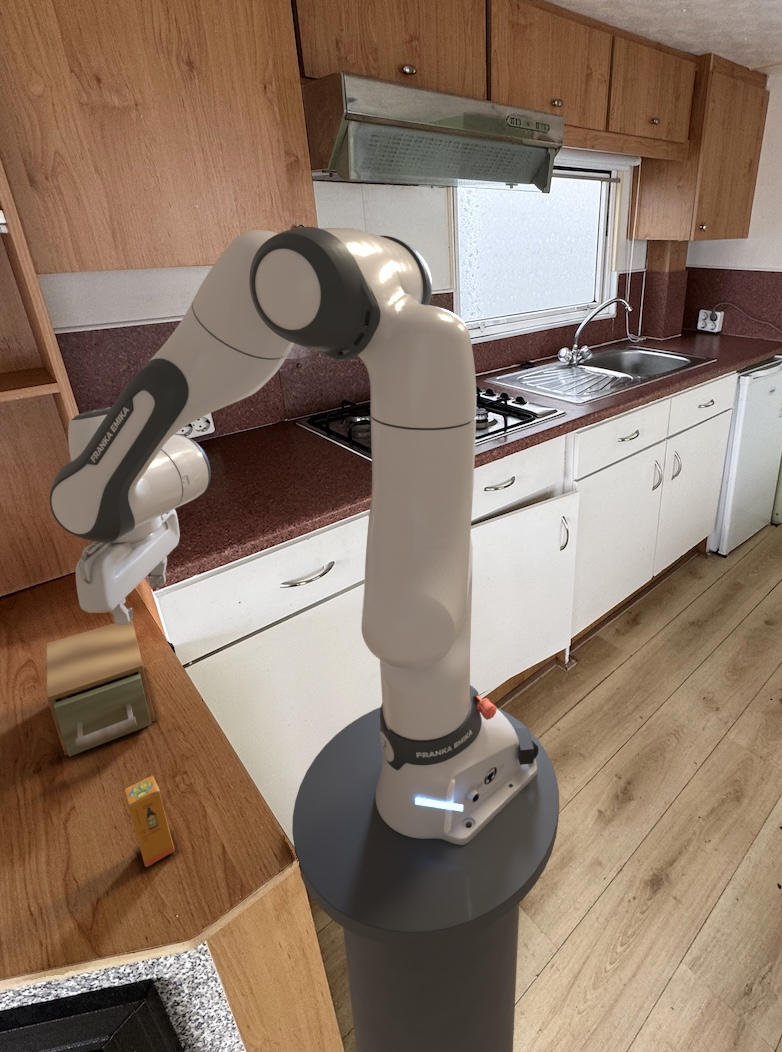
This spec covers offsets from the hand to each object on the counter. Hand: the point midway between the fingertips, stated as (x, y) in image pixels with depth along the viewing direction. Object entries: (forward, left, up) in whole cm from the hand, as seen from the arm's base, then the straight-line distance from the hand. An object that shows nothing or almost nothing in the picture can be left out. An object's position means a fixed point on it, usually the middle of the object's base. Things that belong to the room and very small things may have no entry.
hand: (142, 602), depth 86 cm
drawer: (+7, -1, -19) cm, 21 cm away
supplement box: (+4, +26, -20) cm, 33 cm away
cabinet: (+7, -5, -20) cm, 22 cm away
